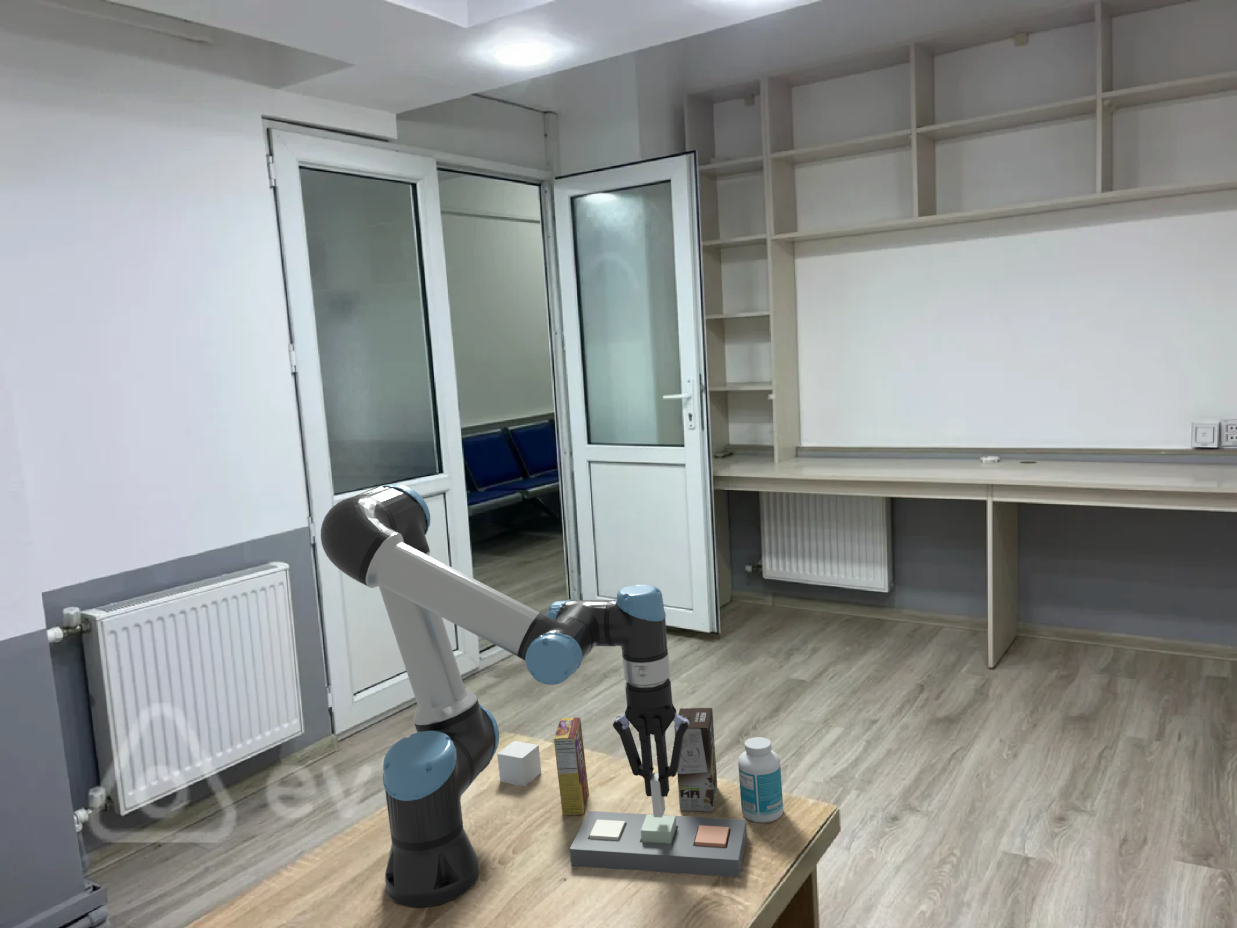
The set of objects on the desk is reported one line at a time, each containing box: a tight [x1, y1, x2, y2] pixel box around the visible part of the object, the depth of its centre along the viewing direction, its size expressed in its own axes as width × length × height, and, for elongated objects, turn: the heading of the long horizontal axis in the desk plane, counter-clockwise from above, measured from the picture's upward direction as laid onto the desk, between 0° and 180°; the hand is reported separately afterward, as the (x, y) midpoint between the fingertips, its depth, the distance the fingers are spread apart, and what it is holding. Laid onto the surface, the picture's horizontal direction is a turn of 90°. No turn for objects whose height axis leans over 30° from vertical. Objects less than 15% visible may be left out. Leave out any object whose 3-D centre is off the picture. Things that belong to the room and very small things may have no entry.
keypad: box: [569, 810, 748, 878], centre depth 155 cm, size 28×12×3 cm, turn 76°
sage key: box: [641, 813, 677, 844], centre depth 155 cm, size 5×5×3 cm
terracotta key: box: [695, 825, 729, 848], centre depth 153 cm, size 5×5×3 cm
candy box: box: [553, 717, 590, 816], centre depth 172 cm, size 9×4×15 cm, turn 175°
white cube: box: [496, 740, 542, 787], centre depth 185 cm, size 6×6×6 cm
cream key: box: [590, 820, 625, 841], centre depth 157 cm, size 5×5×3 cm
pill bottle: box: [737, 736, 784, 824], centre depth 164 cm, size 8×7×14 cm
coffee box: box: [673, 707, 718, 812], centre depth 170 cm, size 9×6×16 cm
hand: (659, 812), depth 154 cm, fingers closed
